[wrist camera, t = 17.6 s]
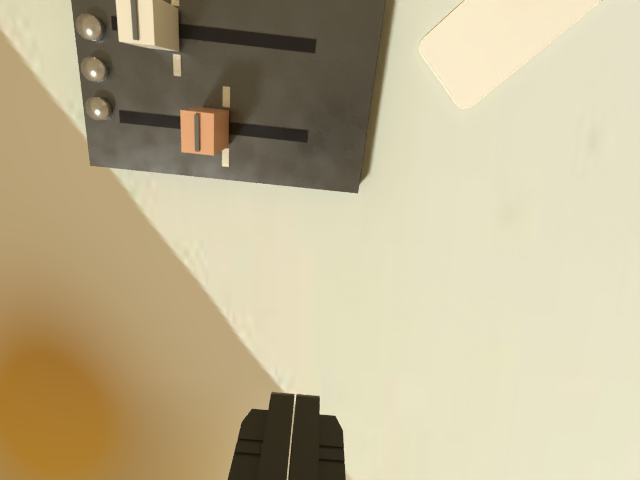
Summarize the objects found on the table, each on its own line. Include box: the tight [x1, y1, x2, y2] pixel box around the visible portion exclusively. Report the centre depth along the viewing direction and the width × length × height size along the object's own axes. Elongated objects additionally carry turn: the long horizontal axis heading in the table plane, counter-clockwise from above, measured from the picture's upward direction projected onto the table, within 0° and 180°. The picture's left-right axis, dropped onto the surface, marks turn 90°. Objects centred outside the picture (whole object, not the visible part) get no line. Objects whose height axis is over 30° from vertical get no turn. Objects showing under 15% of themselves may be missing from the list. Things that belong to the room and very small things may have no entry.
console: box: [71, 0, 385, 193], centre depth 32 cm, size 16×24×3 cm, turn 84°
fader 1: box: [116, 0, 179, 52], centre depth 28 cm, size 3×2×5 cm
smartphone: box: [419, 0, 602, 109], centre depth 32 cm, size 7×1×15 cm
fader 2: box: [180, 107, 229, 156], centre depth 30 cm, size 3×2×5 cm
